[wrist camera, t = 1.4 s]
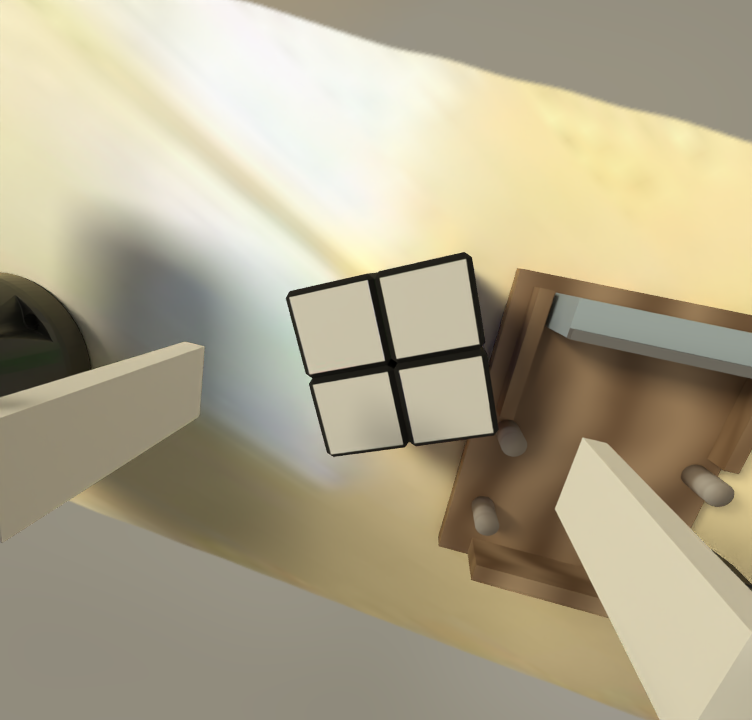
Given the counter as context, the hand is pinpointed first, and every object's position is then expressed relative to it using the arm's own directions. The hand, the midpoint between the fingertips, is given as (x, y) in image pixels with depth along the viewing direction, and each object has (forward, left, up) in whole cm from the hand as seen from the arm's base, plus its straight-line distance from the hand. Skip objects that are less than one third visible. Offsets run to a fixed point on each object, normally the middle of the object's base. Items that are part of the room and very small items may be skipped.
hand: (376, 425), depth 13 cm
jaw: (+16, +4, -16) cm, 23 cm away
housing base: (+16, -5, -17) cm, 24 cm away
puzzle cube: (0, 0, -18) cm, 18 cm away
